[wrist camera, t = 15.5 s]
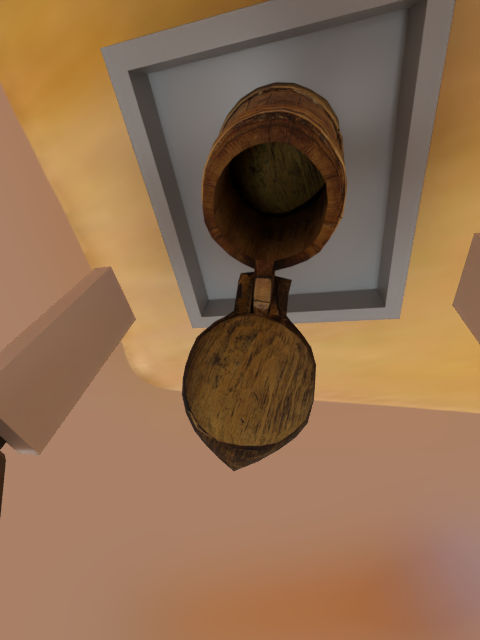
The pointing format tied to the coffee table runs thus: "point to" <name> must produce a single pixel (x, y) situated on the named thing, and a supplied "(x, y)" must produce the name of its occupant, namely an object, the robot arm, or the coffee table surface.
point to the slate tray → (354, 122)
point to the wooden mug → (264, 268)
